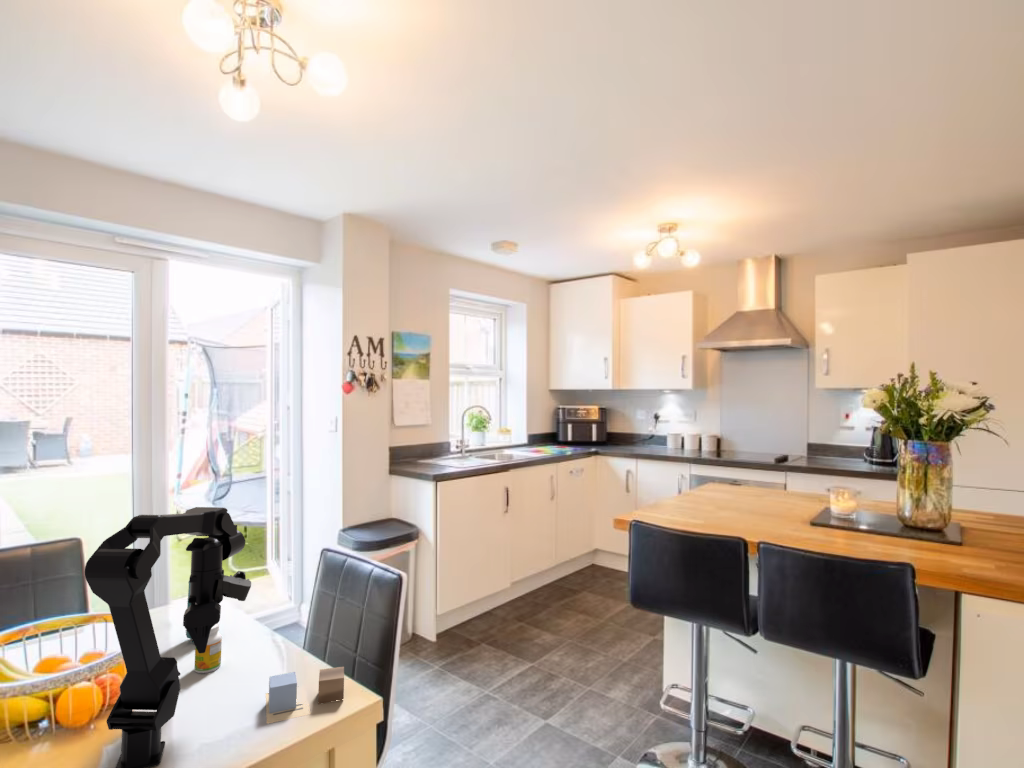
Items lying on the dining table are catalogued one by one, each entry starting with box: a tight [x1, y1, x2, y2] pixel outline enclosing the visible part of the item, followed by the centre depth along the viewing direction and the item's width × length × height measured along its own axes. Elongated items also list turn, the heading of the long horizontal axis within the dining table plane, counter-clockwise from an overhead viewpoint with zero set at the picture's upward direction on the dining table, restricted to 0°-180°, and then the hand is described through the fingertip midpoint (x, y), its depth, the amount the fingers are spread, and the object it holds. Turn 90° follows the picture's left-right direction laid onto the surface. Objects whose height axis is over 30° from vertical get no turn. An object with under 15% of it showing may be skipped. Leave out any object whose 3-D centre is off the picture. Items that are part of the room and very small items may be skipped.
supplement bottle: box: [194, 622, 223, 674], centre depth 126 cm, size 5×5×10 cm
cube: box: [268, 671, 298, 714], centre depth 110 cm, size 5×5×5 cm
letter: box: [265, 692, 311, 724], centre depth 111 cm, size 12×8×1 cm, turn 26°
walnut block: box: [317, 666, 345, 705], centre depth 114 cm, size 5×5×5 cm
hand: (203, 643), depth 112 cm, fingers open, 9 cm apart
